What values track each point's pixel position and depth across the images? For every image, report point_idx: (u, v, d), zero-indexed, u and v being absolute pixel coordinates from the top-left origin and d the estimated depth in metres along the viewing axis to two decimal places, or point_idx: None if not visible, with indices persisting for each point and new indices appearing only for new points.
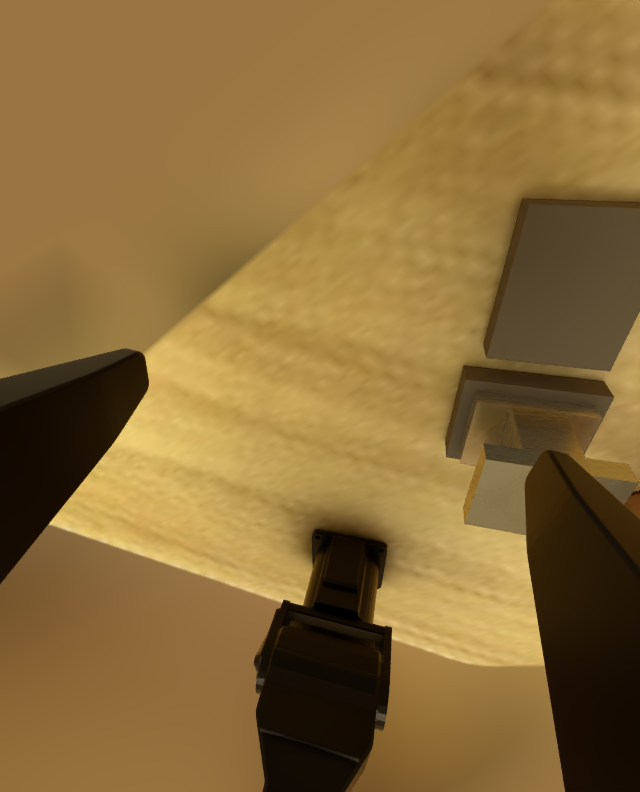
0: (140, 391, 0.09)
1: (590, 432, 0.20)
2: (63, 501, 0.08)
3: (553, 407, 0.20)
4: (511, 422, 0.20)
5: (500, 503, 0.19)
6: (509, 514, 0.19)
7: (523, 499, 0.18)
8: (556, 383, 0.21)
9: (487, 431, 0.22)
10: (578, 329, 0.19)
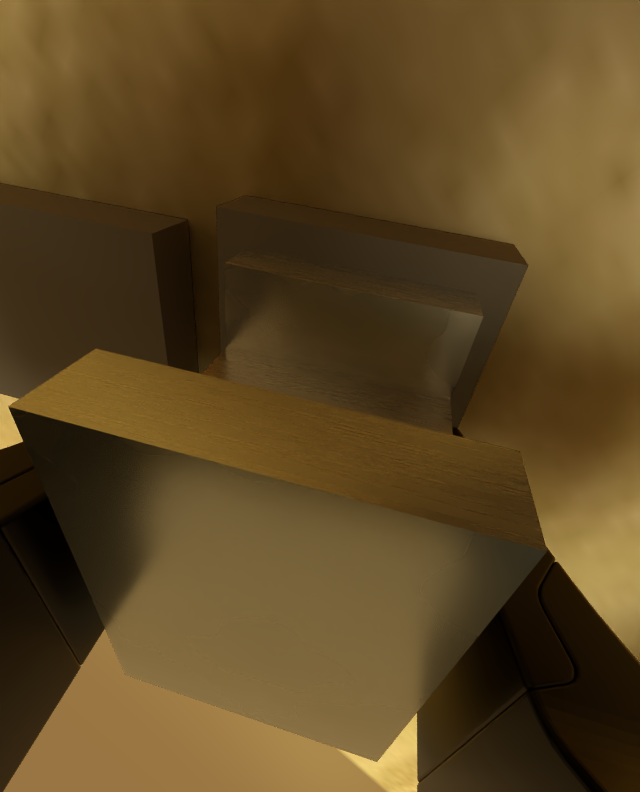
0: None
1: (275, 285, 0.07)
2: None
3: None
4: None
5: (269, 697, 0.06)
6: (314, 697, 0.05)
7: (236, 662, 0.05)
8: None
9: None
10: (86, 309, 0.10)
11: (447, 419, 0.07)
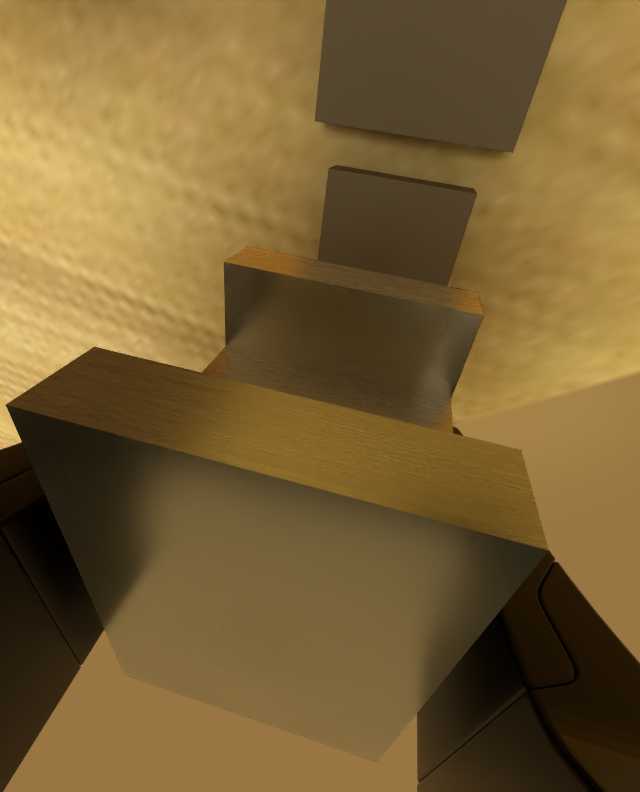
0: None
1: (275, 283, 0.07)
2: None
3: None
4: None
5: (268, 697, 0.06)
6: (314, 697, 0.05)
7: (235, 662, 0.05)
8: None
9: None
10: (371, 231, 0.17)
11: (447, 418, 0.07)
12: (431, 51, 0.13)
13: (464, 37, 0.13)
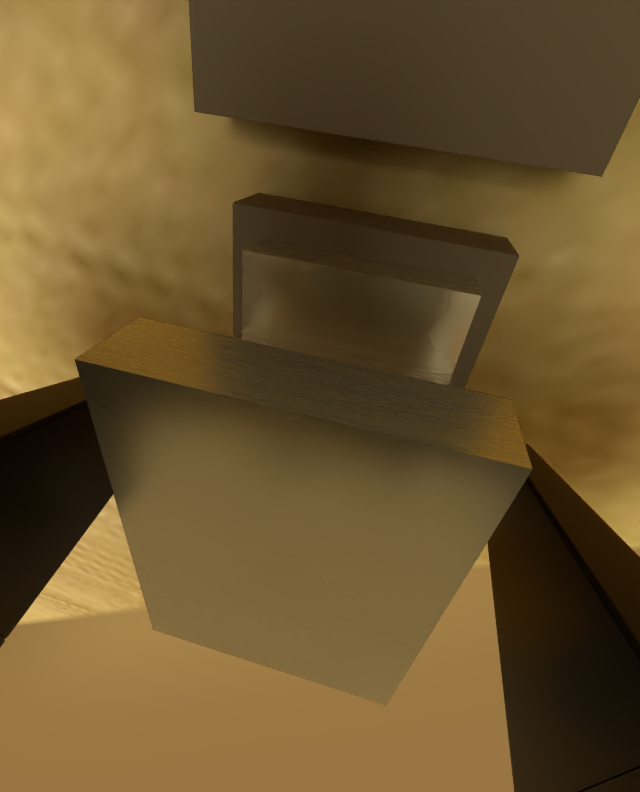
0: None
1: (289, 269, 0.08)
2: (96, 511, 0.08)
3: None
4: None
5: (288, 641, 0.06)
6: (330, 638, 0.06)
7: (259, 606, 0.06)
8: None
9: None
10: None
11: None
12: None
13: None
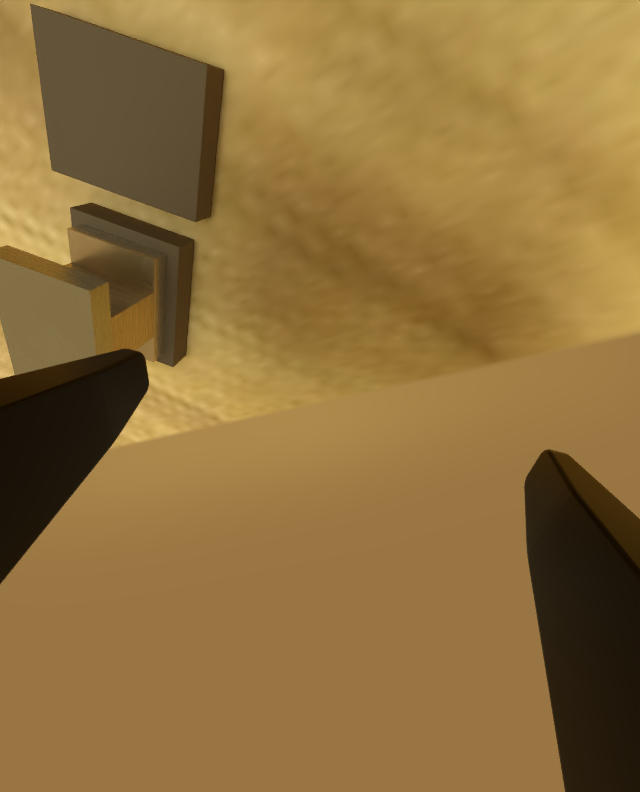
0: (140, 391, 0.09)
1: (86, 239, 0.19)
2: (63, 501, 0.08)
3: None
4: None
5: None
6: None
7: (47, 352, 0.18)
8: None
9: None
10: None
11: (145, 296, 0.19)
12: (123, 138, 0.17)
13: (142, 133, 0.17)
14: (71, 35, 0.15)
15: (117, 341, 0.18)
